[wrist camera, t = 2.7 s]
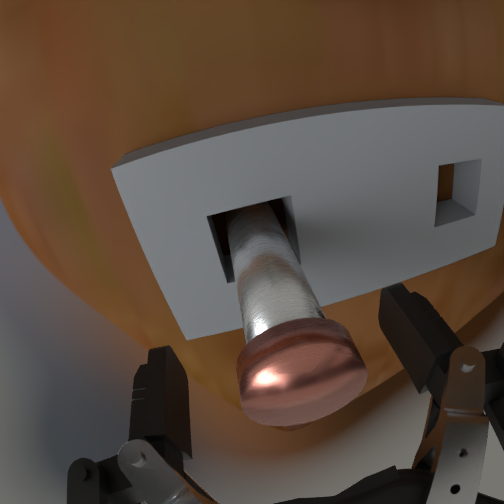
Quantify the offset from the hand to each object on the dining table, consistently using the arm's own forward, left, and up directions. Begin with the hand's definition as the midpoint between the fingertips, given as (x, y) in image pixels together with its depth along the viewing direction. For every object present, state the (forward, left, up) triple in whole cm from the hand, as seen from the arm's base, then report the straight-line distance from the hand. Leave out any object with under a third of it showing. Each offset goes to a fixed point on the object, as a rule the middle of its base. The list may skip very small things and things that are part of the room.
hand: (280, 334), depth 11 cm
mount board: (-7, 0, -10) cm, 12 cm away
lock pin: (0, 0, -10) cm, 10 cm away
